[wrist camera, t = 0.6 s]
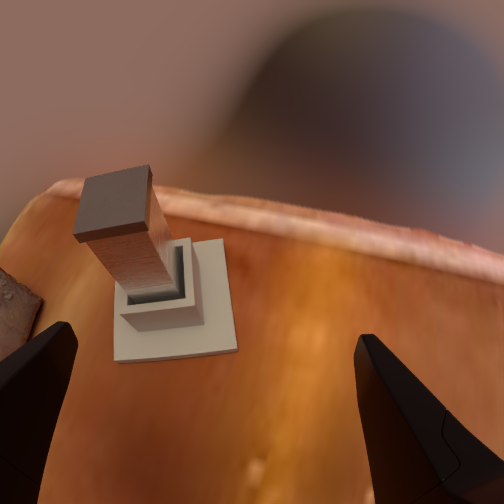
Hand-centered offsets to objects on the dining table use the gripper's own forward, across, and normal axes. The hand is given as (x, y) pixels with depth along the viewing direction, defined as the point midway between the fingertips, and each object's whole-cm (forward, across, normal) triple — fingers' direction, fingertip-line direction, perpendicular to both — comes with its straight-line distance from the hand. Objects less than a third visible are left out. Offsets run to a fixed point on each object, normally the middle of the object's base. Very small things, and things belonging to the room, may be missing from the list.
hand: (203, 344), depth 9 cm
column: (+14, +6, +9) cm, 18 cm away
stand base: (+14, +6, +10) cm, 19 cm away
